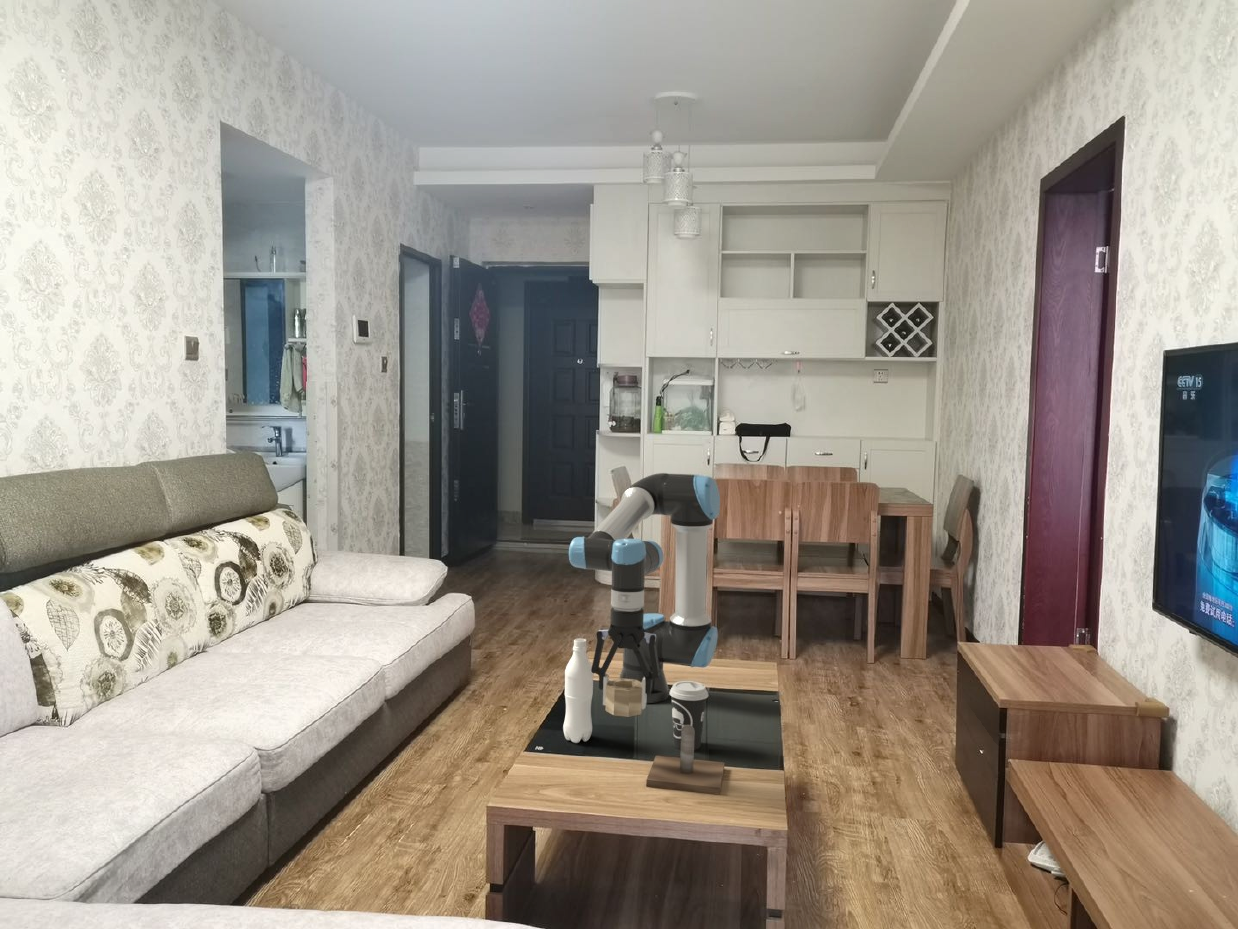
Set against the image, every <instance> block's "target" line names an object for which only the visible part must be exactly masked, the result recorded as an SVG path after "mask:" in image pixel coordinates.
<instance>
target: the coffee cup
mask: <svg viewBox="0 0 1238 929" xmlns="http://www.w3.org/2000/svg"><path fill="white" fill-rule="evenodd" d="M668 695H669V696H671V713H672V714H671V717H672V733H673V734H672V735H673V736H672V737H673V746H674V747H675V748H676V749H678V750H680V751H681V730H682V728H683V726H685V725H691V726H692V727H693V728H694V731H695V736H694V751H697V750H699V749H700V748H701V743H702V737H703V736H702V735H703V727H704V720H705V718H704V717H705V710H706V703H707V702H706V701H707V698H709V692H708V690H707V688H706V685H705V684H704V683H702V682H699V681H693V680H683V681H682V680H680V681H676V682H674V683H673V684H672V687H671V689H670V690H669V692H668Z"/></svg>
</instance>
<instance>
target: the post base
mask: <svg viewBox="0 0 1238 929" xmlns="http://www.w3.org/2000/svg"><path fill="white" fill-rule="evenodd" d="M694 736H695V731H694V728H693V727H692V726H691V725H685V726H683V728H682V730H681V750H680V754H679V755H680V757H676V756H675V757H672V756H666V755H665V756H664V755H655V757H654V759H653V763H652V764H651V767H650V770H649V772H648V776H647V778H646V784H645V785H646V787H650V788H659V789H667V790H676V791H685V792H695V793H704V794H713V795H721V788H722V783H723V779H724V778H723V777H724V772H725V762H722V761H712V760H705V759H704V760H702V759H694V758H695V755H694V754H695V750H694Z"/></svg>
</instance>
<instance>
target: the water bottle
mask: <svg viewBox="0 0 1238 929" xmlns="http://www.w3.org/2000/svg"><path fill="white" fill-rule="evenodd" d="M572 651H573V652H572V656H571V658H570V659H569V661H568V663H567V664H566V667H565V671H564V698H565V699H564V700H565V716H564V722H563V726H562V730H563V734H564V738H565V739H566V740H567V741H571V742H572V743H574V744H579V743H580V741H581V740H582V741H583V742H587V741H589V739H590V738H591V735H592V732H593V723H592V714H591V713H592V712H591V711H592V710H591V707H592V700H593V696H594V693H593V692H594V691H593V690H594V674H595V673H592V672H591V669H592V663H591V661H590V660H589V658H588V655H587V651H588V648H587V639H586V638H575V639H574V640H573V647H572Z"/></svg>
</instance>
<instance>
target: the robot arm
mask: <svg viewBox="0 0 1238 929" xmlns="http://www.w3.org/2000/svg"><path fill="white" fill-rule="evenodd" d="M720 496H721V494H720V490H719V487H718V484H717V482H716V480H715V479H714V478H713V477H711V476H709V475H703V474H702V475H701V474H692V473H691V474H686V473H685V474H684V473H667V472H666V473H665V472H661V473H660V472H659V473H654V474H651V475H647V476H645V477H643V478H641V479H639V480H638V481H636V482H634V483H632V484H631V485H630V486H629V487H627V489H626V490H625V491H624V492H623V494H622V495H621V500H620V502H619V503H618V504H617V505H616V506H615V507H614V508H613V510H612V511H611V512H610V513H609V514H608V515H607V516H606V517H605V518H604V519H603V521H602V522H601V523H600V524H599V525H598V526H597V527H596V528H595V530H593V531H592V533H591V534H590V535H588V537H585V536H577V537H574V538H573V539H572V540H571V542H570V544H569V548H568V558H569V559H568V560H569V563H570V564H571V566H573V567H574V568H577V569H578V568H579V569H584V570H594V571H603V572H604V571H607V572H611V585H610V586H611V589H610V592H611V593H610V605H611V609H610V622H609V624H610V626H609V627H608V629H602V628H599V629H598V631H596V634H595V635H596V646H595V652H594V655H593V660H592V663H591V665H592V669H591V672H592V673H594V674H596V675H598V689H599V690H601V691H602V693H603V694H602V706H606V685H607V683H608V682H609V680H610V673H607V671H608V668H609V667H610V665H611V662H612V660H613V659H614V656H615V654H616V653H617V651H618V649H622V650H623V651H622V669H621V672H620V674H619V677H618V679H620V678H623V679H634V680H637V681H639V682H642V702H641V709H643V710H645V709H646V707H647V704H653V703H654V704H655V703H659V702H663V701H665V700H667V699H668V698H669V691H670V690H669V686H668V682H667V679H666V678H667V677H666V675H665V670H664V663H665V664H668V665H669V664H670V665H671V664H672V665H679V666H683V667H689V668H706V667H708V666H709V665H710V664H711V662H712V660H713V657H714V654H715V652H716V648H717V645H718V644H717V643H718V637H719V636H718V634H719V632H718V628H717V627H716V626H714V625H712V619H711V617H710V616H709V615H708V614H707V612H706V611H707V610H706V608H707V561H708V560H707V559H708V556H707V555H708V554H707V553H708V530H709V528H710V527H712V525H713V524H714V523H713V522H714V520H716V519H717V518H718V517H719V514H720V507H721V497H720ZM652 515H653V516H654V515H656V516H657V515H660V516H661V515H662V516H668V517H670V525H671V526H673V527H674V528H675V587H674V588H675V595H674V596H675V597H674V599H675V600H674V604H675V605H674V608H675V609H674V610H675V611H674V613H673V614H672V615H671V616H670V617H669V621H666V617H665V615H664V614H663V613H662V614H661V613H657V612H656V613H650V612H649V613H644V612H645V611H644V609H643V607H644V606H645V576H646V575H649V574H652V573H654V572H655V571H657V569H658V568H660V567H661V566H662V563H663V562H664V552H663V551H664V550H663V549H662V547H661V546H660V545H659V544H658V543H657V542H656V541H654V540H641V539H637V538H629V537H630V535H631V534H632V533H633V532H634V530H635V529H636V528H637V527H638V526H639V524H640V523H641V522H642V521H643V520H646V519H649V518H650V517H651V516H652ZM608 636H609V638H611V641H613V643H612V646H611V647H610V651H608V653H607V656H606V658H605V660H604V662H603V664H602V665H601V667H600V663H601V659H602V655H603V654H602V653H603V649H604V645H605V641H606V639H607V637H608Z"/></svg>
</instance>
